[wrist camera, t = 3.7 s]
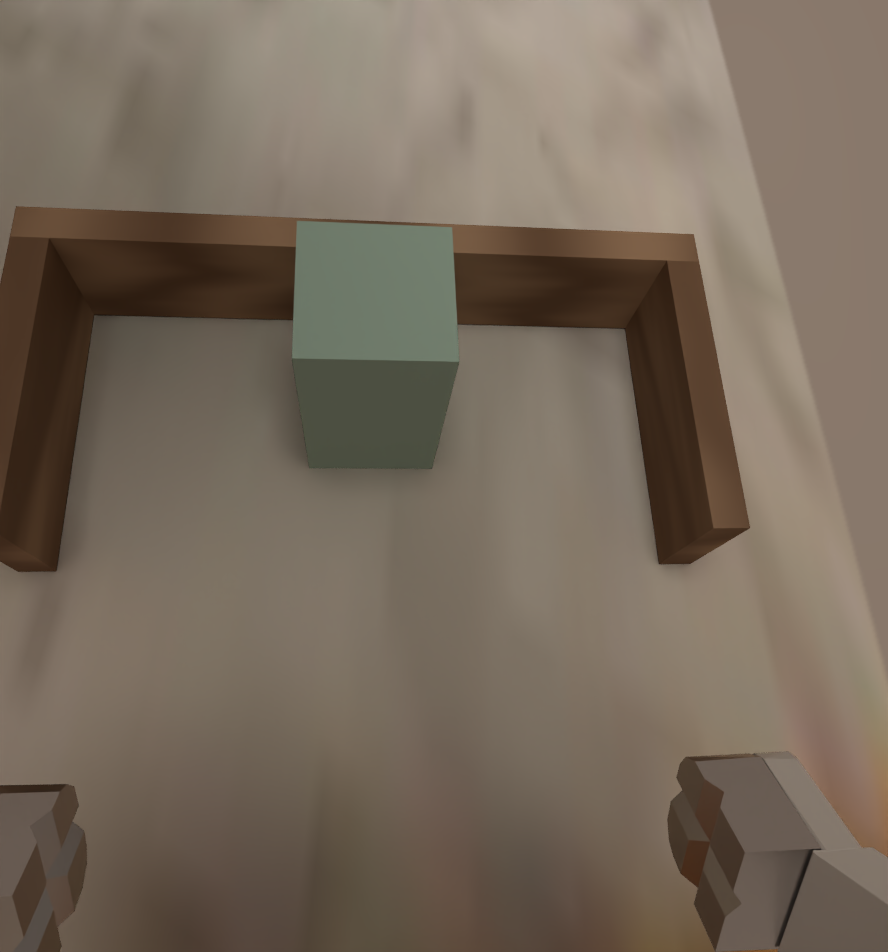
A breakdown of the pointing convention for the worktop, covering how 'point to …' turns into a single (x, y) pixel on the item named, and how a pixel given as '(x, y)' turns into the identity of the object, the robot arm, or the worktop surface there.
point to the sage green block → (373, 342)
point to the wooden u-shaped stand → (272, 297)
